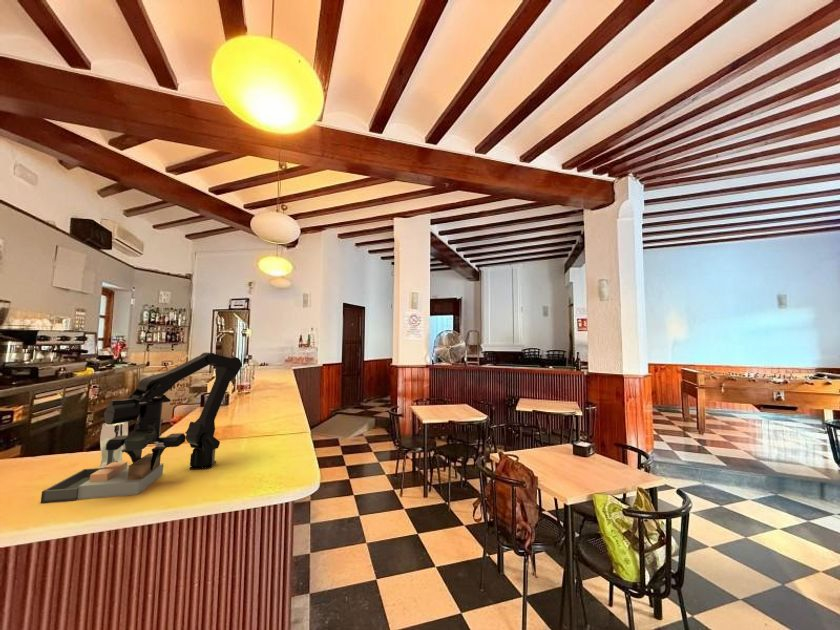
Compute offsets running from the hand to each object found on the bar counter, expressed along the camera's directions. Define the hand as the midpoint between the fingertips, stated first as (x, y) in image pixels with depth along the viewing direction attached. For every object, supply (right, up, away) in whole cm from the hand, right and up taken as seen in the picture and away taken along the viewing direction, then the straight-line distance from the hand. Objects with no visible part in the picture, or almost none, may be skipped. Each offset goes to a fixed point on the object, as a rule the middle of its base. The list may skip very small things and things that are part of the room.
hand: (144, 470), depth 102 cm
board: (-5, -4, -2) cm, 7 cm away
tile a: (-9, -1, 0) cm, 10 cm away
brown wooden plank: (0, -1, 0) cm, 1 cm away
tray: (-15, -3, -5) cm, 16 cm away
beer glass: (-21, -5, +11) cm, 24 cm away
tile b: (-8, 0, -5) cm, 10 cm away
